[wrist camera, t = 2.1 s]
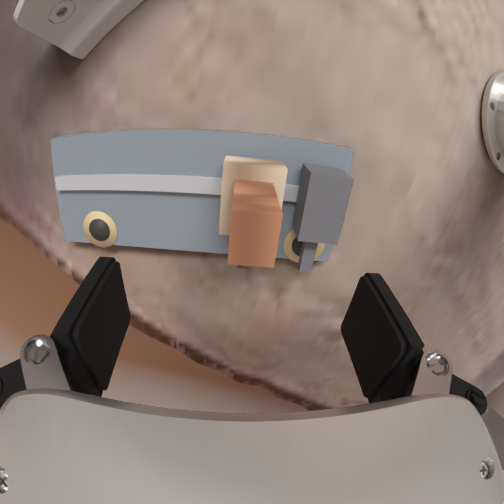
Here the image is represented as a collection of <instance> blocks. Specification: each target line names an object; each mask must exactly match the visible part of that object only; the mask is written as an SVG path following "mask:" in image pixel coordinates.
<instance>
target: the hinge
mask: <svg viewBox="0 0 504 504" xmlns="http://www.w3.org/2000/svg"><path fill="white" fill-rule="evenodd" d="M143 1H144V0H16V1H15V3H14V6H13V11H12V12H13V15H14V21H15V22H16V23H17V24H18V25H19V26H20V27H22V28H24V29H26V30H28V31H30V32H32V33H34V34H36V35H38V36H39V37H41V38H43V39H45V40H47V41H49V42H51V43H52V44H54V45H56V46H58V47H59V48H61V49H62V50H64V51H65V52H67V53H68V54H70V55H71V56H74V57H77V58H79V59H82V60H83V59H84V58H85V57H86V56H87V55H88V54H89V52H90V51H91V50H92V49H93V48H94V47H95V46H96V45H97V44H98V43H99V42H100V41H101V39H102V38H103V37H104V36H105V35H106V34H107V33H108V32H109V31H110V30H111V29H112V28H113V27H115V26H116V25H117V24H118V23H119V22H120V21H121V20H122V19H123V18H124V17H125V16H126V15H128V14H129V13H130V12H131V11H132V10H133V9H134V8H136V7H137V6H138V5H139V4H140V3H142V2H143Z"/></svg>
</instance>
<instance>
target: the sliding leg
mask: <svg viewBox="0 0 504 504" xmlns="http://www.w3.org/2000/svg"><path fill="white" fill-rule="evenodd" d="M287 172H288V169H287V167H286V165H285V164H284V162H283V161H278V160H269V159H260V158H250V157H238V156H226V157H225V160H224V163H223V176H222V190H221V205H220V222H219V235H230V236H229V250H228V264H229V265H237V268H250V266H256V267H270V268H274V264H275V258H276V253H277V247H278V241H279V235H280V229H281V224H282V218H283V213H282V204H283V198H284V191H285V185H286V178H287Z"/></svg>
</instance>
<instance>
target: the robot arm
mask: <svg viewBox="0 0 504 504" xmlns="http://www.w3.org/2000/svg"><path fill="white" fill-rule="evenodd" d="M482 129H483V137H484V141H485V145H486V149H487V152H488V155H489V157H490V159H491V161H492V163H493V164H494V166H495V167H496V168H497V169H498V170H499V171H500V172H502V173H503V174H504V71H498V72H497V73H495V74H494V75H493V76H492V77H491V78H490V79H489V81H488V84H487V86H486V89H485V92H484V96H483V102H482ZM129 323H130V311H129V307H128V303H127V298H126V293H125V289H124V284H123V279H122V273H121V268H120V263H119V262H116V260H115V258H112V257H99V259H98V260H97V261H96V263H95V264H94V266H93V267H92V269H91V270H90V272H89V273H88V275H87V276H86V278H85V279H84V281H83V282H82V284H81V285H80V287H79V288H78V290H77V291H76V293H75V295H74V296H73V298H72V299H71V301H70V303H69V305H68V306H67V308H66V309H65V311H64V313H63V314H62V316H61V318H60V319H59V321H58V323H57V325H56V326H55V328H54V330H53V332H52V334H51V335H50V337H49V336H46V335H35V336H33V337H31V338H29V339H28V340H27V341H26V342H25V343H24V344H23V346H22V347H21V350H20V359H18V360H16V361H14V362H12V363H10V364H8V365H6V366H4V367H1V368H0V504H504V474H503V469H504V419H503V418H502V417H501V416H500V415H499V414H498V413H497V412H496V411H495V410H494V409H492V408H491V406H489V407H488V408H487V400H486V397H485V395H484V393H483V392H482V391H481V390H480V389H478V388H477V387H475V386H473V385H471V384H470V383H468V382H466V381H464V380H462V379H460V378H459V377H457V376H455V375H453V374H452V364H451V362H450V360H449V359H448V357H447V356H446V355H445V354H443V353H442V352H440V351H437V350H427V351H426V352H423V350H422V349H423V347H424V346H425V345H424V344H423V342H422V340H421V338H420V337H419V335H418V333H417V332H416V330H415V328H414V326H413V325H412V323H411V321H410V320H409V318H408V317H407V315H406V313H405V312H404V310H403V308H402V307H401V305H400V304H399V302H398V301H397V299H396V297H395V296H394V294H393V293H392V291H391V290H390V288H389V287H388V285H387V284H386V282H385V281H384V279H383V278H382V276H381V275H380V274H378V273H366V274H365V275H364V276H362V277H361V278H360V280H359V282H358V285H357V288H356V290H355V293H354V295H353V298H352V300H351V303H350V305H349V308H348V310H347V313H346V315H345V317H344V320H343V322H342V325H341V333H342V335H343V338H344V341H345V344H346V346H347V349H348V352H349V354H350V357H351V360H352V363H353V366H354V369H355V371H356V374H357V377H358V380H359V383H360V386H361V389H362V392H363V395H364V396H365V397H367V398H368V401H369V404H364V405H357V406H351V407H343V408H335V409H326V410H316V411H305V412H288V413H217V412H201V411H188V410H178V409H168V408H161V407H154V406H147V405H141V404H135V403H129V402H122V401H118V400H112V399H107V398H102V397H101V396H102V392H103V390H107V388H108V385H109V382H110V379H111V375H112V372H113V369H114V366H115V363H116V360H117V357H118V354H119V351H120V348H121V345H122V342H123V339H124V337H125V334H126V331H127V328H128V326H129ZM94 395H95V396H94ZM98 396H99V397H98ZM381 401H382V402H381Z"/></svg>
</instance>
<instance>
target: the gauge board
mask: <svg viewBox="0 0 504 504" xmlns="http://www.w3.org/2000/svg"><path fill="white" fill-rule="evenodd" d="M51 150H52V162H53V172H54V180H55V188H56V195H57V201H58V207H59V213H60V218H61V223H62V228H63V233H64V237H65V241H72V242H84V243H93V244H94V245H96V246H98V247H109V246H111V245H121V246H133V247H145V248H158V249H170V250H183V251H195V252H208V253H221V254H228V250H229V236H230V235H219V222H220V205H221V190H222V176H223V163H224V160H225V157H226V156H238V157H250V158H260V159H269V160H278V161H283V162H284V164H285V165H286V167H287V169H288V172H287V178H286V185H285V191H284V198H283V204H282V213H283V218H282V224H281V229H280V235H279V241H278V247H277V253H276V258H286V259H290V260H292V261H294V262H297V263H298V266H297V267H298V270H299V272H308V273H311V269H312V266H313V262H314V261H327V262H328V259H329V255H330V252H331V248H332V244H335V245H337V243H338V240H339V236H340V232H341V229H342V225H343V221H344V217H345V213H346V210H347V206H348V201H349V197H350V193H351V189H352V185H353V180H354V179H353V178H351V177H350V171H351V166H352V161H353V157H354V152H355V151H353V150H352V149H350V148H348V147H343V146H338V145H333V144H327V143H322V142H316V141H310V140H303V139H297V138H290V137H282V136H275V135H266V134H257V133H246V132H234V131H220V130H200V129H134V130H114V131H100V132H89V133H80V134H71V135H63V136H58V137H56V138H53V139H51Z"/></svg>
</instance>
